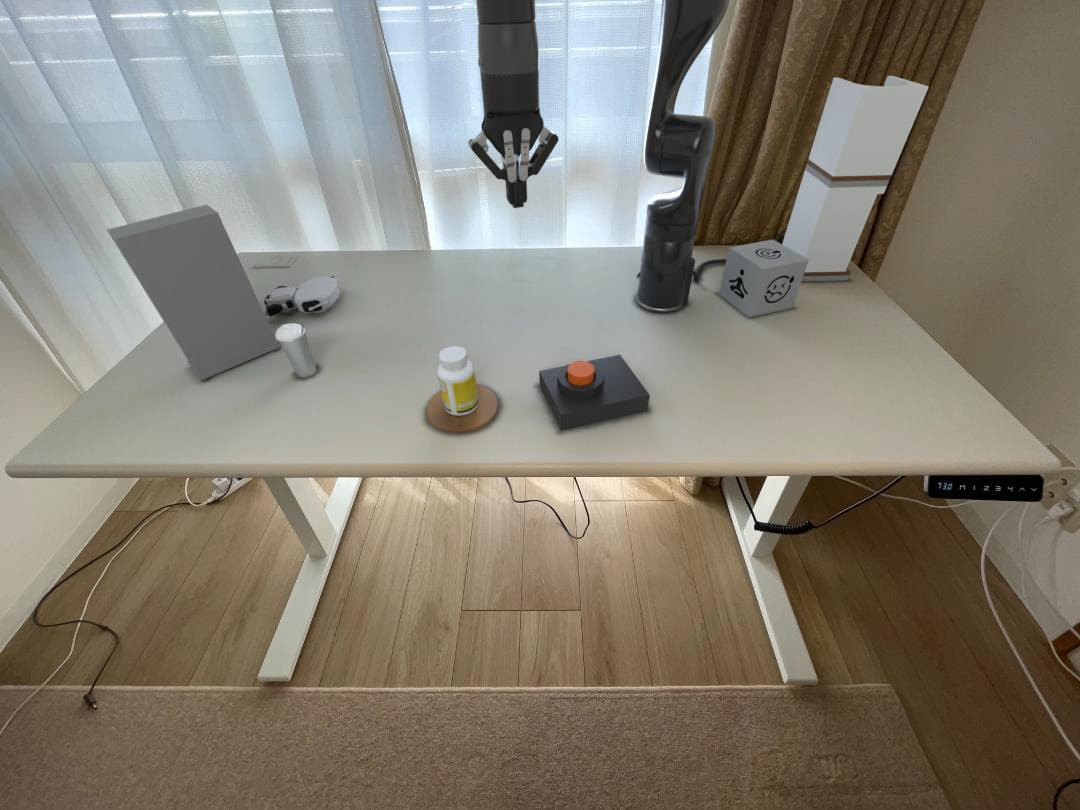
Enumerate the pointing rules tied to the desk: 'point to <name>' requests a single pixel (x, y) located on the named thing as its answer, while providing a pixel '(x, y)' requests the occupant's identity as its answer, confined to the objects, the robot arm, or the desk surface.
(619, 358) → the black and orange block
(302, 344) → the milkshake
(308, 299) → the robot toy
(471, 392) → the supplement bottle
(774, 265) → the icon cube
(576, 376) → the orange button
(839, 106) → the white striped pillar
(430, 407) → the coaster
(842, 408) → the desk surface
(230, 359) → the tall grey upright panel
